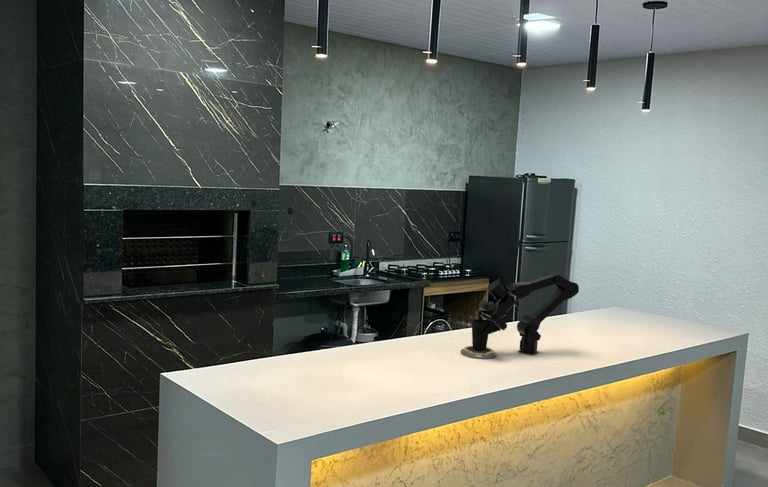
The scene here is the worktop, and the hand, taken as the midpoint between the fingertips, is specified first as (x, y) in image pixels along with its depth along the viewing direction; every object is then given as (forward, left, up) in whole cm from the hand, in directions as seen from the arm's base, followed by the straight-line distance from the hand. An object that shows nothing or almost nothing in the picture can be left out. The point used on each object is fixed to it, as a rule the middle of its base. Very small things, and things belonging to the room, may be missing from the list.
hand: (477, 333), depth 286 cm
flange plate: (-1, -1, -9) cm, 9 cm away
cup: (-1, -1, -7) cm, 7 cm away
